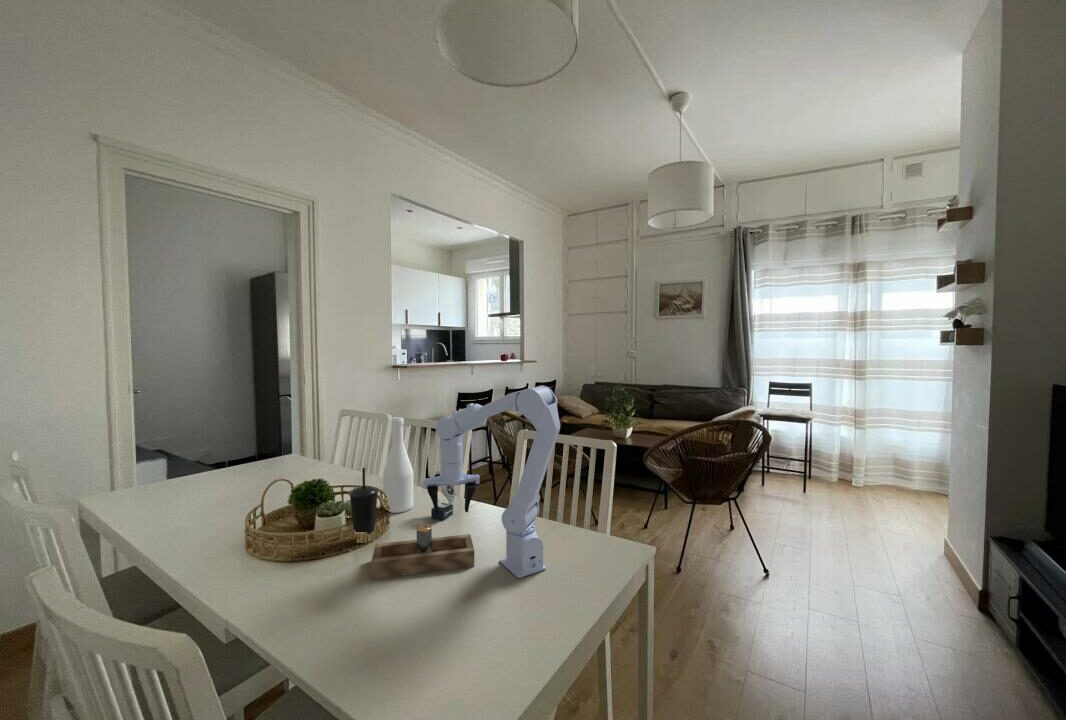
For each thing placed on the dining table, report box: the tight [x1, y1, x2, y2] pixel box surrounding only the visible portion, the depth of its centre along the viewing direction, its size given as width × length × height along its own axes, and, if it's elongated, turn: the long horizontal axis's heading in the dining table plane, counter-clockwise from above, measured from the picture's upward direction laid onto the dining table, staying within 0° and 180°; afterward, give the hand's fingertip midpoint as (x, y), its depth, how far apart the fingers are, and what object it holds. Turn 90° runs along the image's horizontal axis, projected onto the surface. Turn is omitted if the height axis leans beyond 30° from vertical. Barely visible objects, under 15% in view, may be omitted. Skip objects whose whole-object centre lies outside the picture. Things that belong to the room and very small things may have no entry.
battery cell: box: [416, 523, 433, 554], centre depth 105 cm, size 4×4×8 cm
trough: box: [370, 533, 475, 580], centre depth 105 cm, size 24×9×4 cm, turn 104°
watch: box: [430, 485, 456, 522], centre depth 134 cm, size 6×8×11 cm
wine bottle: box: [382, 416, 414, 514], centre depth 140 cm, size 10×10×30 cm
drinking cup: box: [348, 467, 380, 534], centre depth 117 cm, size 8×8×20 cm
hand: (451, 512), depth 112 cm, fingers open, 7 cm apart
